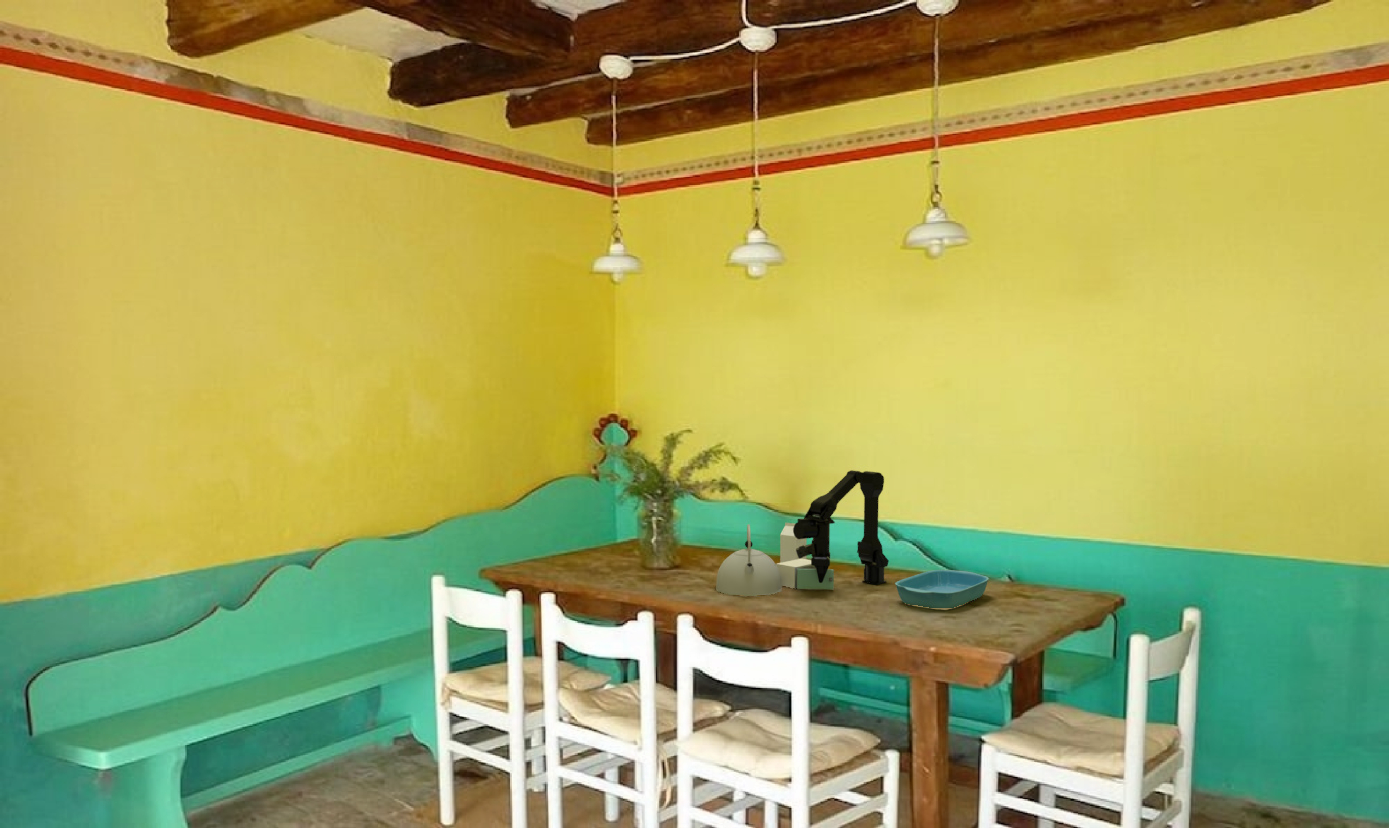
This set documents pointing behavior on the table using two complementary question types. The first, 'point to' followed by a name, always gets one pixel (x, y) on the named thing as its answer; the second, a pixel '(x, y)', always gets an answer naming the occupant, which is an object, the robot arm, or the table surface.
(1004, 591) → the table surface
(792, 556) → the milk carton
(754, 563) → the kettle
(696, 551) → the table surface
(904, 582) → the casserole dish
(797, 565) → the cupboard
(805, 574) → the door
